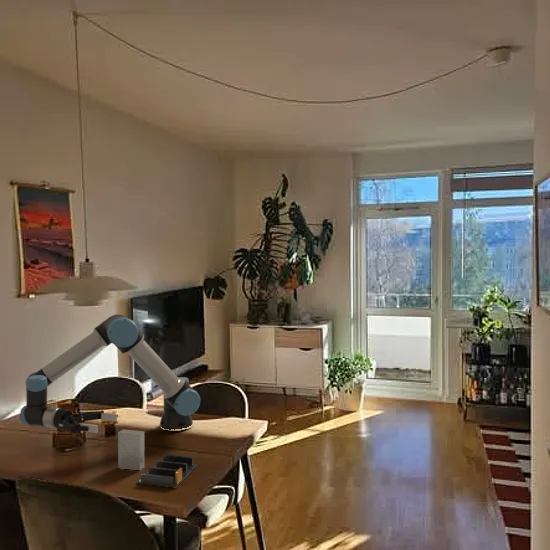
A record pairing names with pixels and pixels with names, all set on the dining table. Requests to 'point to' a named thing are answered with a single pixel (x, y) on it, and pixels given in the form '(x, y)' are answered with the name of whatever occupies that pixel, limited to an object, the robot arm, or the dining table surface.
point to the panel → (131, 449)
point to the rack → (168, 471)
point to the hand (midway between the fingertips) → (107, 423)
